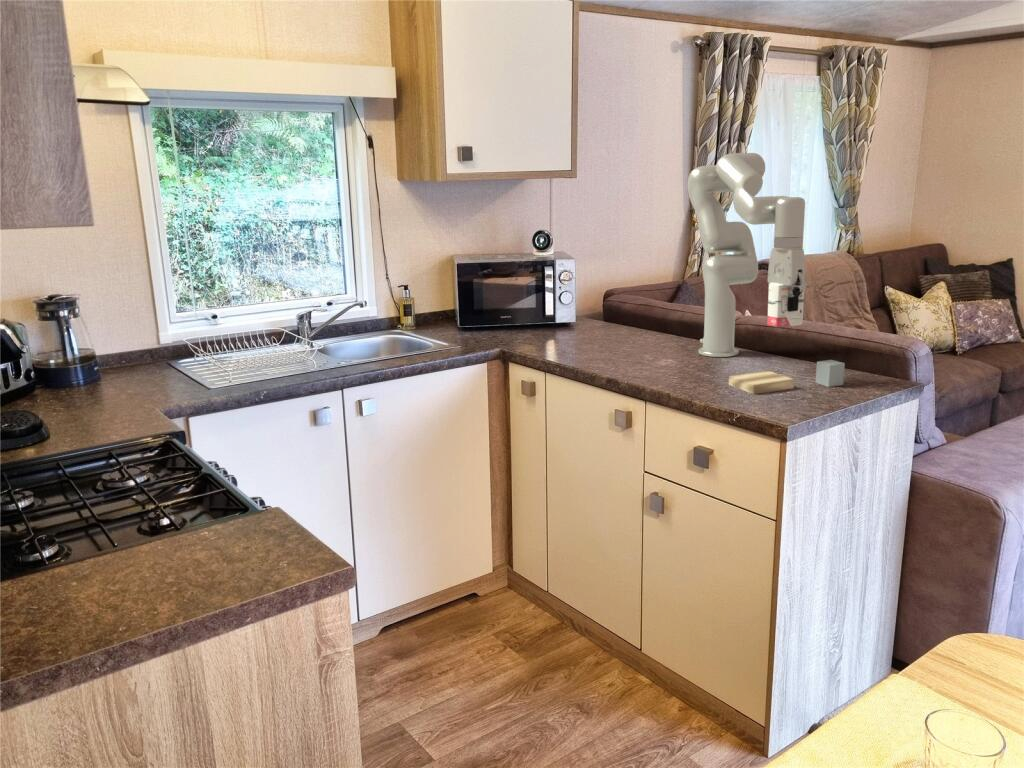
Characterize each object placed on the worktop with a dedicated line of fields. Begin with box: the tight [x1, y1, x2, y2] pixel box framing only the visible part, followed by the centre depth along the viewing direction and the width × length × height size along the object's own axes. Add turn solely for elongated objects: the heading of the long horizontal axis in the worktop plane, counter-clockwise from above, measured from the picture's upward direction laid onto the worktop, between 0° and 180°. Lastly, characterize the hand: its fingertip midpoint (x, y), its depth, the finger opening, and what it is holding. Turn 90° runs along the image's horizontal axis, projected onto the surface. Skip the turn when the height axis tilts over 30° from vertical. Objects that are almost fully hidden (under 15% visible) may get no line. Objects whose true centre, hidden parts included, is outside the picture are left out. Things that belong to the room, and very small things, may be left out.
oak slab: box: [728, 370, 795, 395], centre depth 218 cm, size 11×13×3 cm
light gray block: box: [815, 359, 846, 388], centre depth 218 cm, size 5×5×6 cm
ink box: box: [766, 283, 805, 328], centre depth 222 cm, size 9×5×12 cm, turn 107°
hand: (785, 309), depth 222 cm, fingers closed on ink box, 5 cm apart
